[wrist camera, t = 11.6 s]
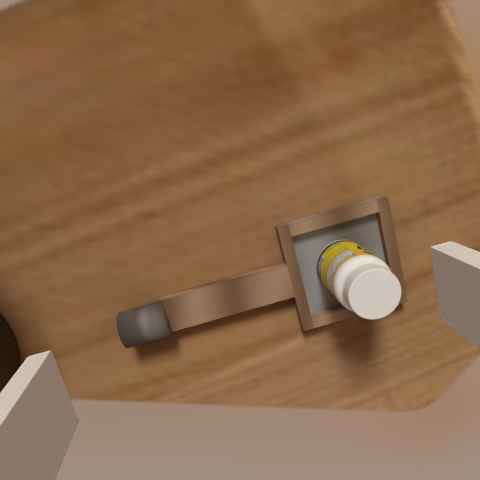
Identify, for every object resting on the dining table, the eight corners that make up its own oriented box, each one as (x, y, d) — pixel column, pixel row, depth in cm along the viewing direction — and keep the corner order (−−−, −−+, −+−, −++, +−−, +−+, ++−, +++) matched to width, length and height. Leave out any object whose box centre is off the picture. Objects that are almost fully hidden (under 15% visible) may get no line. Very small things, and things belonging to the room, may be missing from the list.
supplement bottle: (376, 265, 40) (419, 298, 32) (336, 298, 40) (369, 338, 32) (345, 227, 39) (382, 250, 31) (304, 261, 39) (330, 292, 31)
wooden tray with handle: (144, 369, 41) (138, 388, 38) (108, 273, 39) (100, 284, 36) (401, 296, 41) (416, 308, 38) (381, 195, 39) (396, 200, 36)
